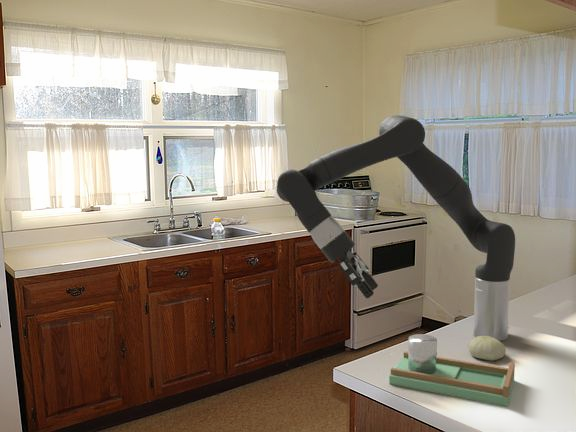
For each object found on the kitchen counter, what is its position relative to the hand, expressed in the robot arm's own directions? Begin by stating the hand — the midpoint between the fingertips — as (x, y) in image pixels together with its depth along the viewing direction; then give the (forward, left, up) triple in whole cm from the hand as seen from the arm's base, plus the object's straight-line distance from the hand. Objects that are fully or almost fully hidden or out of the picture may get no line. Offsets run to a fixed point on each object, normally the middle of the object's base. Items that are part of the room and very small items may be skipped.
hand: (373, 292), depth 132 cm
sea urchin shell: (-23, +23, -21) cm, 39 cm away
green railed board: (-3, +18, -21) cm, 28 cm away
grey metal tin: (-3, +11, -19) cm, 22 cm away
